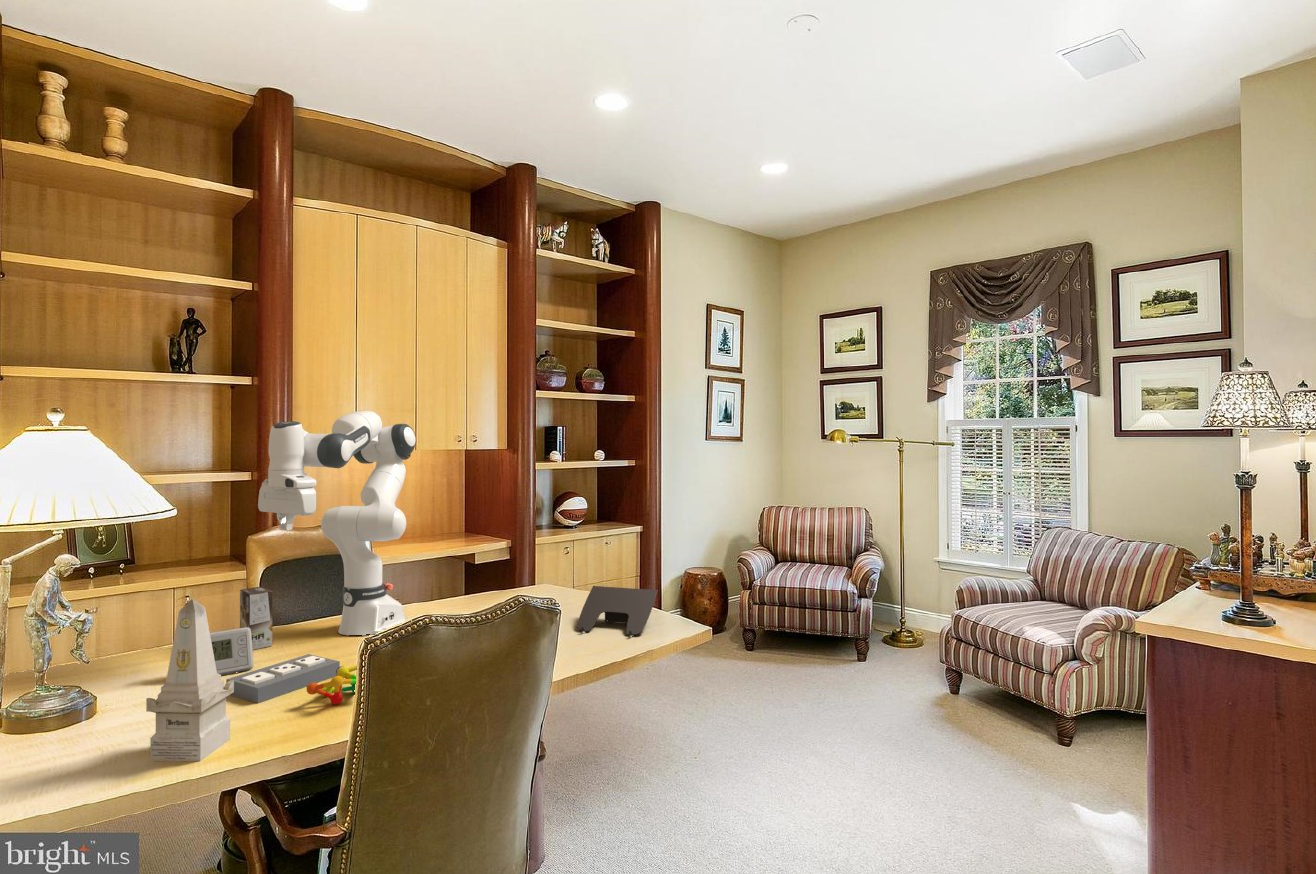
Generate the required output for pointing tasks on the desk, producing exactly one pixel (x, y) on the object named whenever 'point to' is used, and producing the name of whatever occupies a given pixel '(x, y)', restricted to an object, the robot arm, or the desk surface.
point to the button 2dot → (310, 661)
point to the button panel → (283, 680)
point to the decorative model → (335, 685)
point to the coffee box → (257, 615)
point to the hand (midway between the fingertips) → (286, 529)
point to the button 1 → (258, 677)
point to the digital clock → (232, 650)
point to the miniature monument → (190, 695)
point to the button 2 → (284, 669)
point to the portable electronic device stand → (618, 607)
